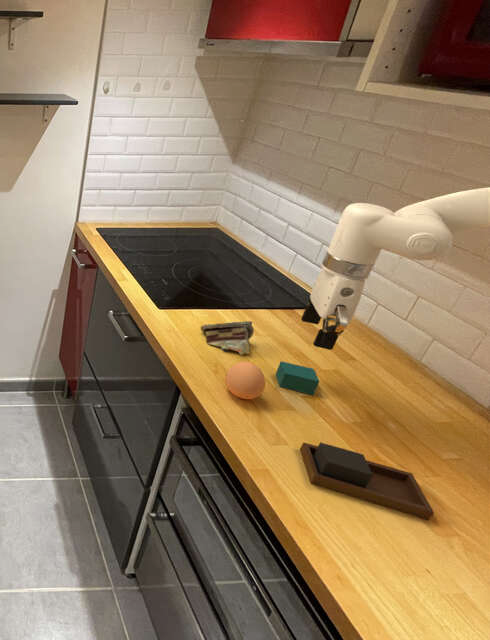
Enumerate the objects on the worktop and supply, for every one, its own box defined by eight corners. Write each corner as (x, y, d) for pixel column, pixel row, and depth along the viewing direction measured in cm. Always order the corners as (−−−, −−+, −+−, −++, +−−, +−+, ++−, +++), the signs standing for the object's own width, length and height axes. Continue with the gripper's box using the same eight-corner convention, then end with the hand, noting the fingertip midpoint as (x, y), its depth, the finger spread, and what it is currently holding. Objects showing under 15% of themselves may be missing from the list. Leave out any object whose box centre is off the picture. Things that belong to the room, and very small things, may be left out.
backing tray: (407, 480, 81) (412, 473, 80) (428, 520, 74) (434, 512, 73) (299, 449, 86) (303, 442, 86) (310, 483, 80) (314, 476, 79)
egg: (219, 379, 104) (229, 350, 101) (256, 389, 101) (267, 359, 98) (222, 400, 98) (233, 370, 94) (261, 411, 95) (273, 380, 92)
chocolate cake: (197, 347, 116) (245, 333, 107) (197, 326, 120) (242, 312, 112) (220, 368, 118) (268, 357, 109) (218, 347, 122) (264, 335, 114)
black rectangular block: (354, 469, 82) (363, 454, 80) (364, 490, 78) (373, 475, 76) (312, 457, 84) (320, 442, 83) (319, 477, 80) (327, 461, 79)
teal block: (307, 382, 104) (313, 368, 102) (313, 395, 100) (319, 381, 98) (275, 374, 106) (280, 361, 104) (279, 386, 102) (284, 373, 100)
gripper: (388, 289, 81) (350, 363, 88) (354, 251, 95) (324, 317, 102) (338, 280, 83) (305, 353, 90) (312, 244, 98) (286, 309, 105)
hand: (315, 334), depth 96 cm, fingers open, 9 cm apart
